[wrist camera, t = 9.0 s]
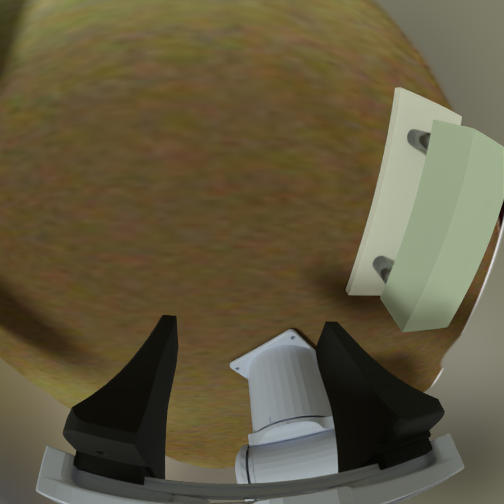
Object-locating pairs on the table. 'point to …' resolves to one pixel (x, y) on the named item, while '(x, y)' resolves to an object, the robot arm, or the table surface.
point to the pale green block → (446, 227)
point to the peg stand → (395, 189)
